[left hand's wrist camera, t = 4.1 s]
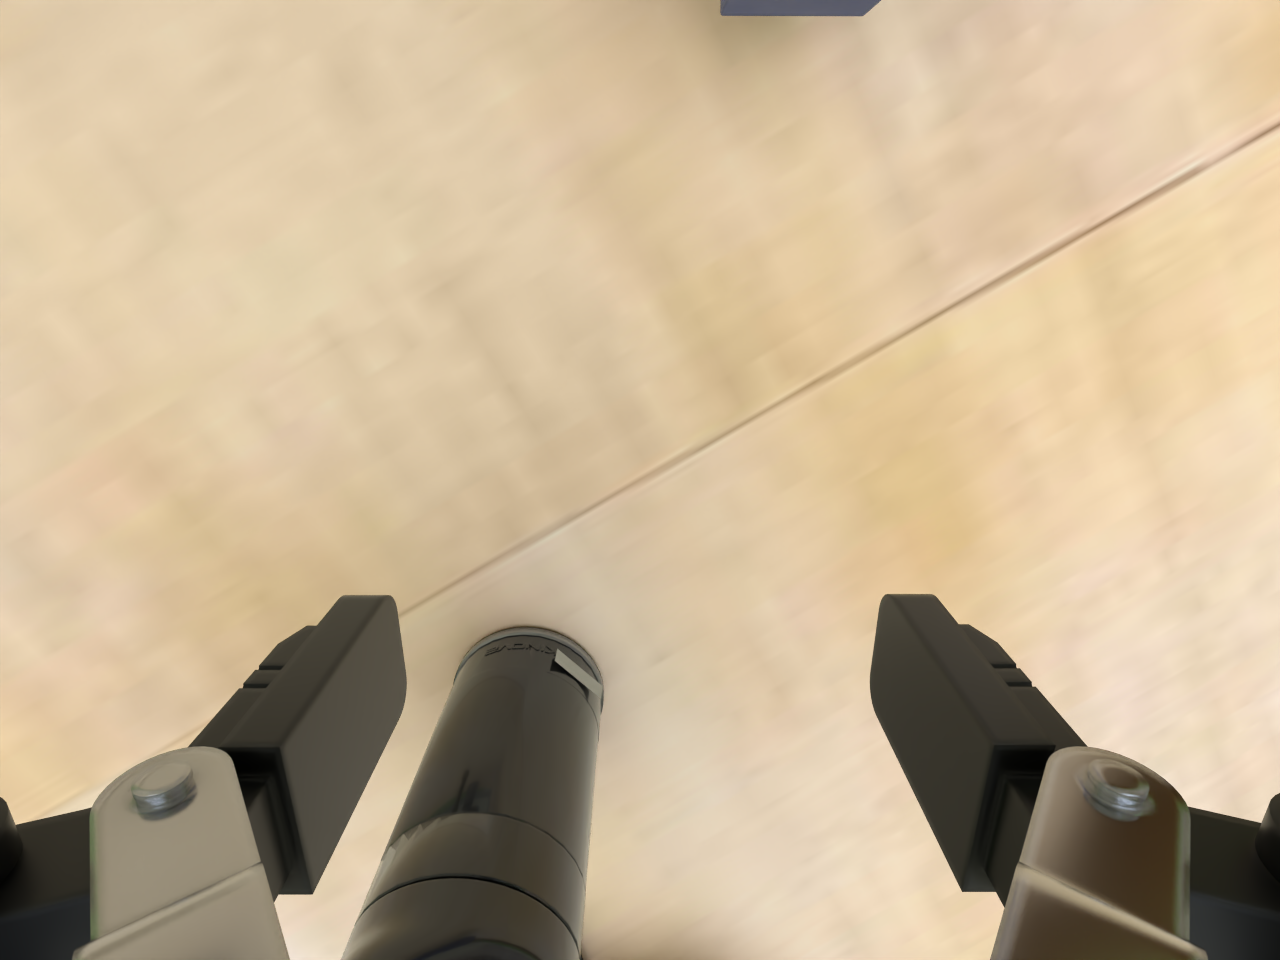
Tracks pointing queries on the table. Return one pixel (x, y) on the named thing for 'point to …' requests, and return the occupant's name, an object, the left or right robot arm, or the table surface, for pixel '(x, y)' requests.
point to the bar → (796, 7)
